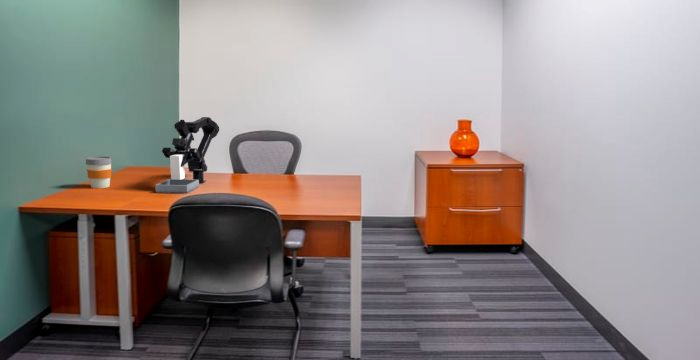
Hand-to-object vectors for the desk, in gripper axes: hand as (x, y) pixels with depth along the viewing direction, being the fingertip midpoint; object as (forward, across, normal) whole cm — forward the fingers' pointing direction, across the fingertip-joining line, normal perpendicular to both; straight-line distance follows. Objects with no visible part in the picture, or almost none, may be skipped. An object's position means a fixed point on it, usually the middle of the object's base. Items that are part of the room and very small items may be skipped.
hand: (176, 166), depth 308 cm
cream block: (+4, 0, +6) cm, 7 cm away
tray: (+8, 0, +10) cm, 12 cm away
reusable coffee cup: (+8, -44, +9) cm, 45 cm away
